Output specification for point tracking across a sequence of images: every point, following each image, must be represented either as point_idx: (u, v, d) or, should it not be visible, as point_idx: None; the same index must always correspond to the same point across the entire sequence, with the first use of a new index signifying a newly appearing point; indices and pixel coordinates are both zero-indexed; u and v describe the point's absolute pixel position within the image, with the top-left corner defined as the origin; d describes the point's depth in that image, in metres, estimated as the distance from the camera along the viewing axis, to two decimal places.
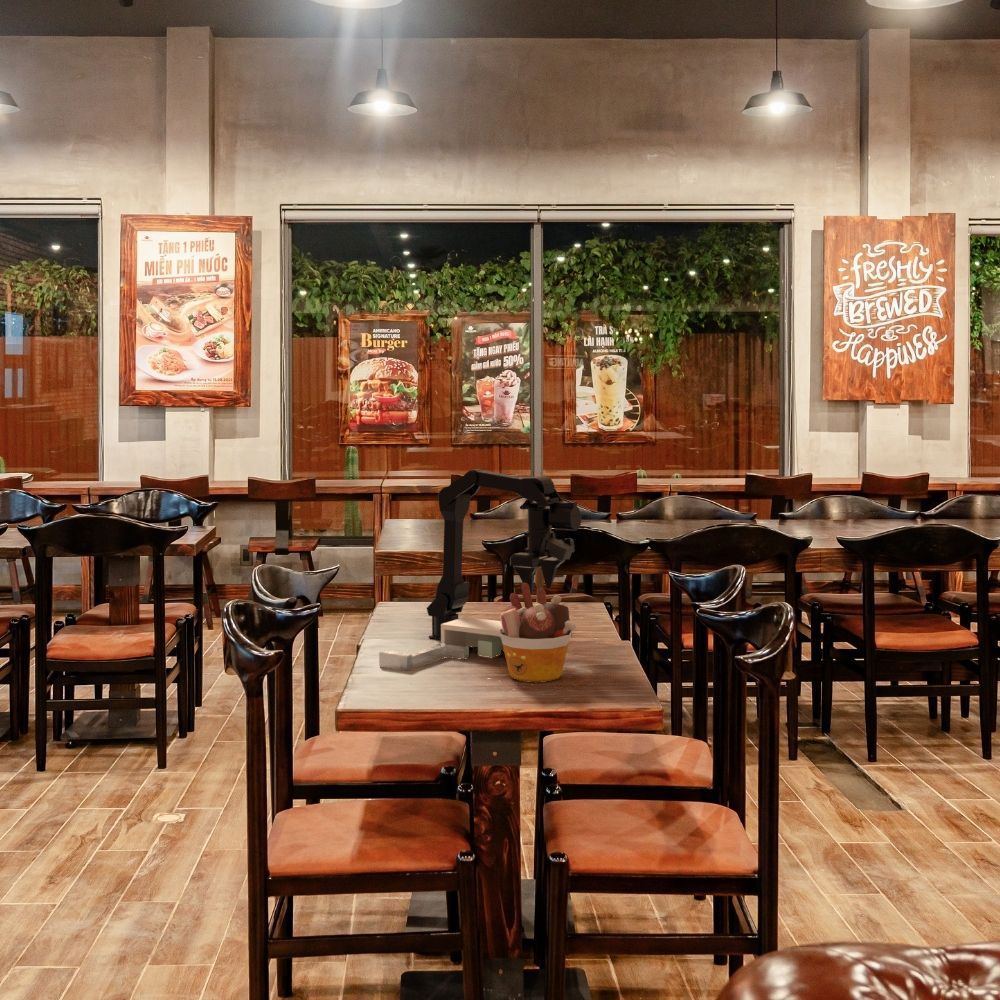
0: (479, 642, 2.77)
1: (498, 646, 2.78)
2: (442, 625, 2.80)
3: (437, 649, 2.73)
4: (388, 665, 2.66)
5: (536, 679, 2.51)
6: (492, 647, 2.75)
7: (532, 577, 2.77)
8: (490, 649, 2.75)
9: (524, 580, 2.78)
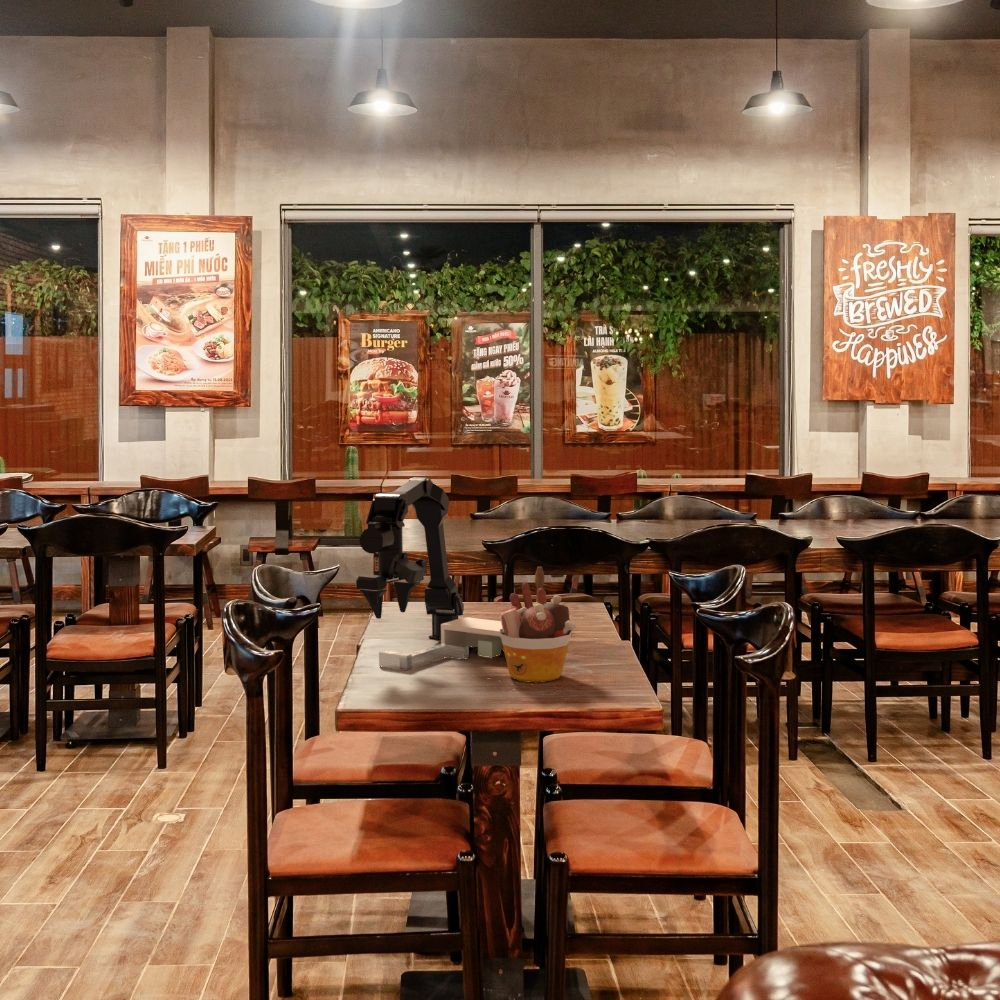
0: (479, 642, 2.77)
1: (498, 646, 2.78)
2: (442, 625, 2.80)
3: (437, 649, 2.73)
4: (387, 665, 2.66)
5: (536, 679, 2.51)
6: (492, 647, 2.75)
7: (380, 601, 2.60)
8: (490, 649, 2.75)
9: (372, 604, 2.61)
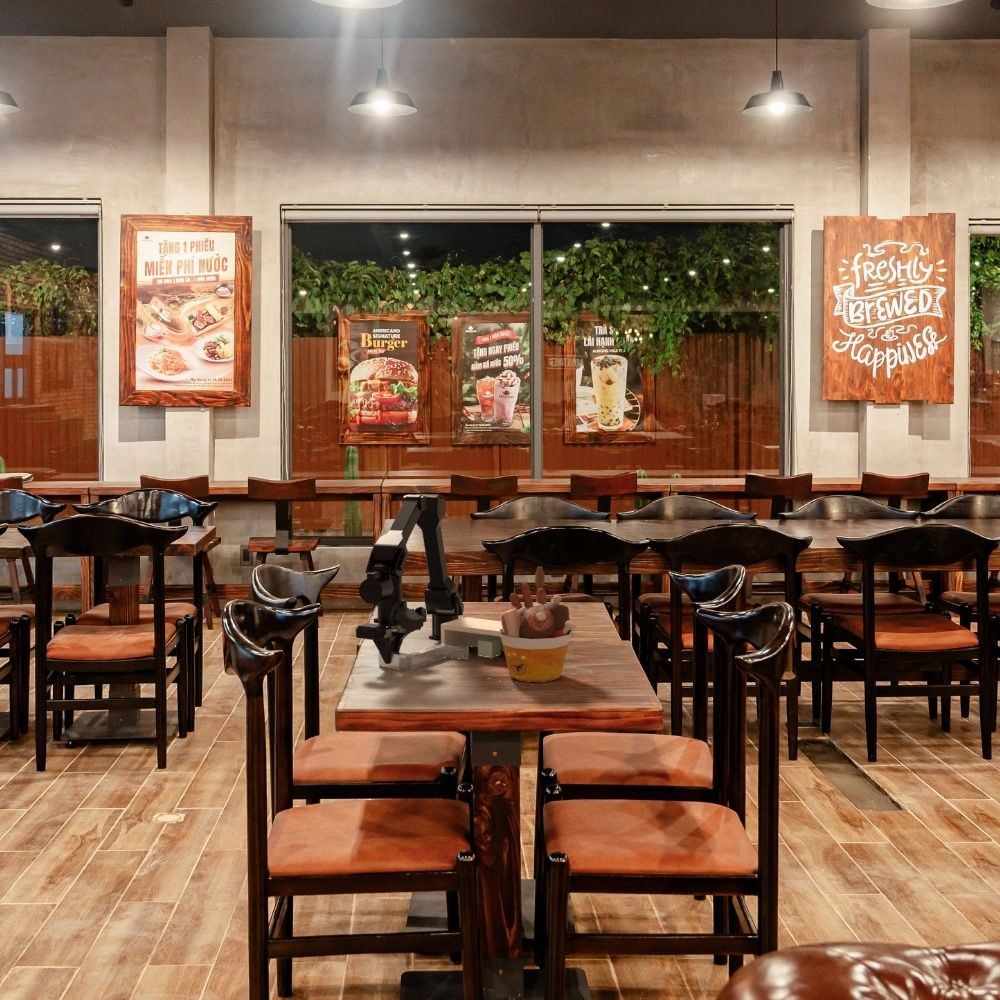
0: (479, 642, 2.77)
1: (498, 646, 2.78)
2: (442, 625, 2.80)
3: (437, 649, 2.73)
4: (387, 665, 2.66)
5: (536, 679, 2.51)
6: (492, 647, 2.75)
7: (388, 647, 2.64)
8: (490, 649, 2.75)
9: (380, 650, 2.65)
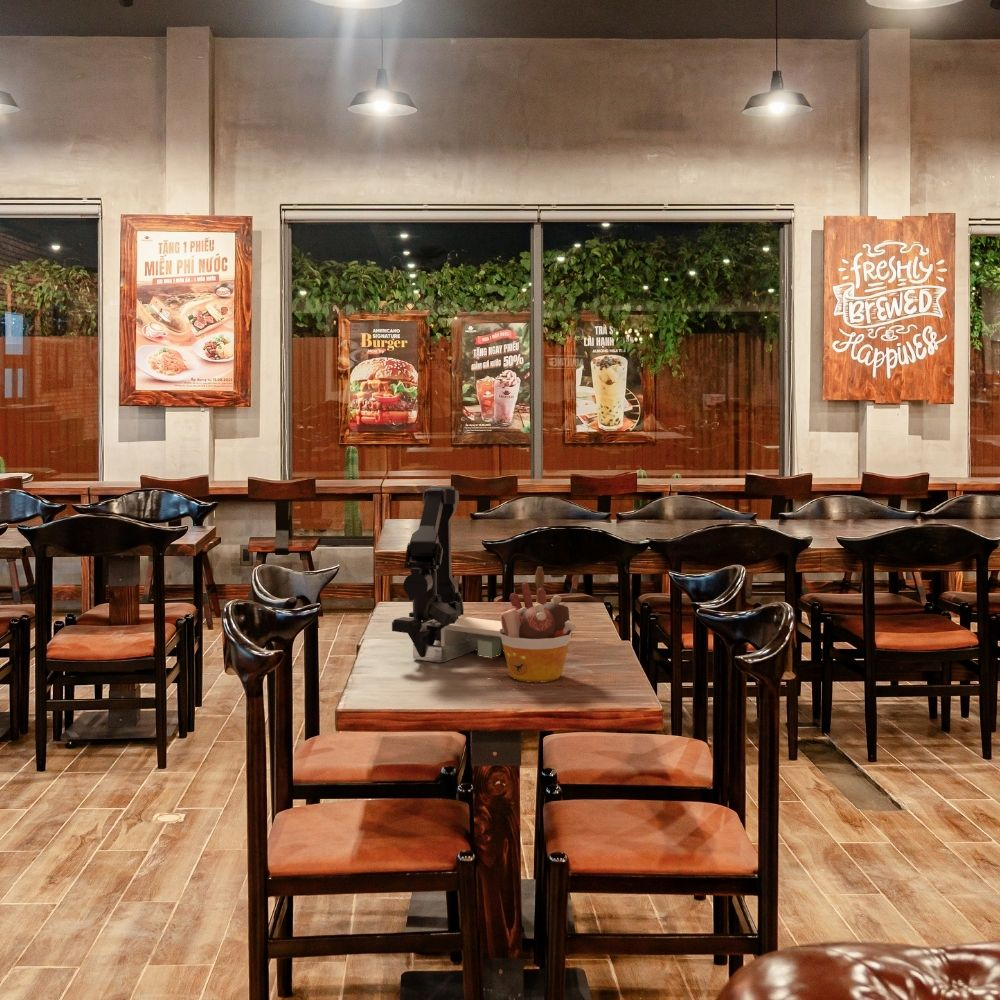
0: (479, 642, 2.77)
1: (498, 646, 2.78)
2: None
3: (468, 642, 2.80)
4: (422, 657, 2.73)
5: (536, 679, 2.51)
6: (492, 647, 2.75)
7: (423, 640, 2.70)
8: (490, 649, 2.75)
9: (416, 643, 2.71)
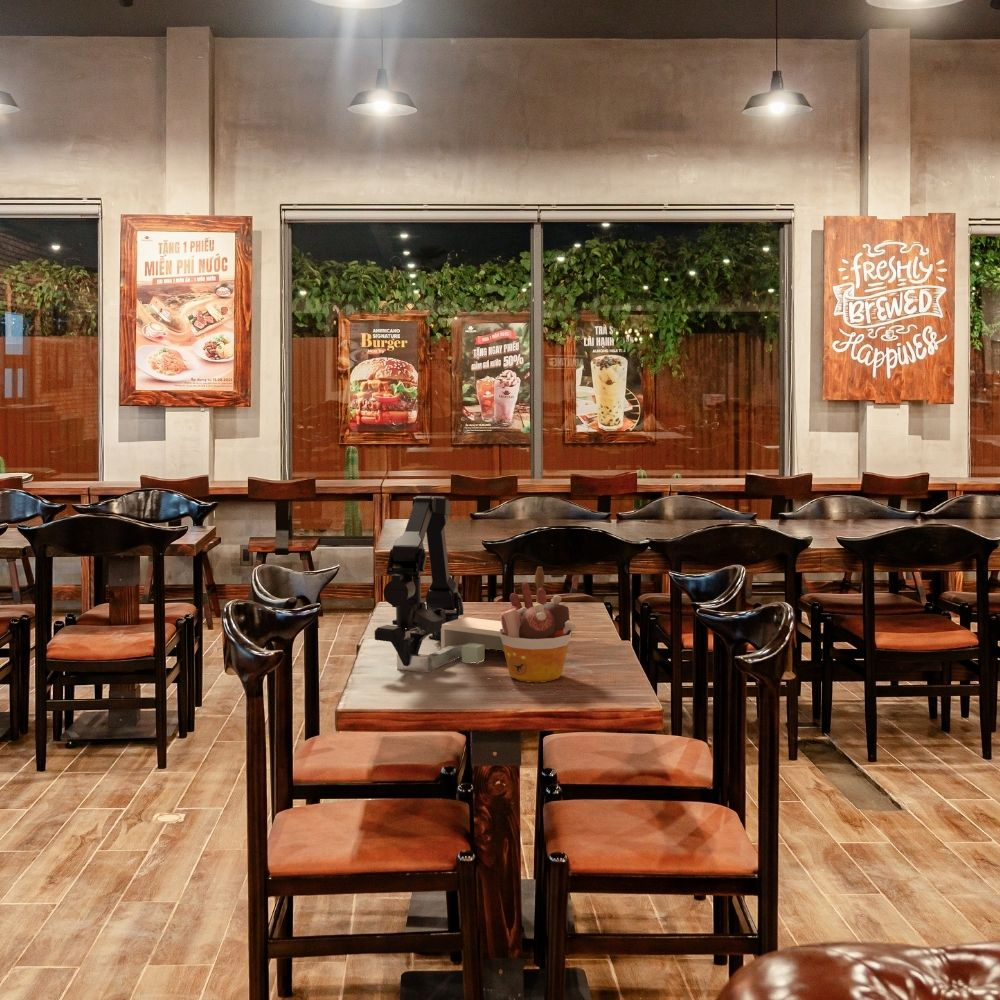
0: (463, 648, 2.71)
1: (482, 651, 2.72)
2: (442, 625, 2.80)
3: (451, 649, 2.72)
4: (406, 667, 2.64)
5: (536, 679, 2.51)
6: (477, 653, 2.70)
7: (407, 649, 2.61)
8: (475, 655, 2.70)
9: (399, 652, 2.62)
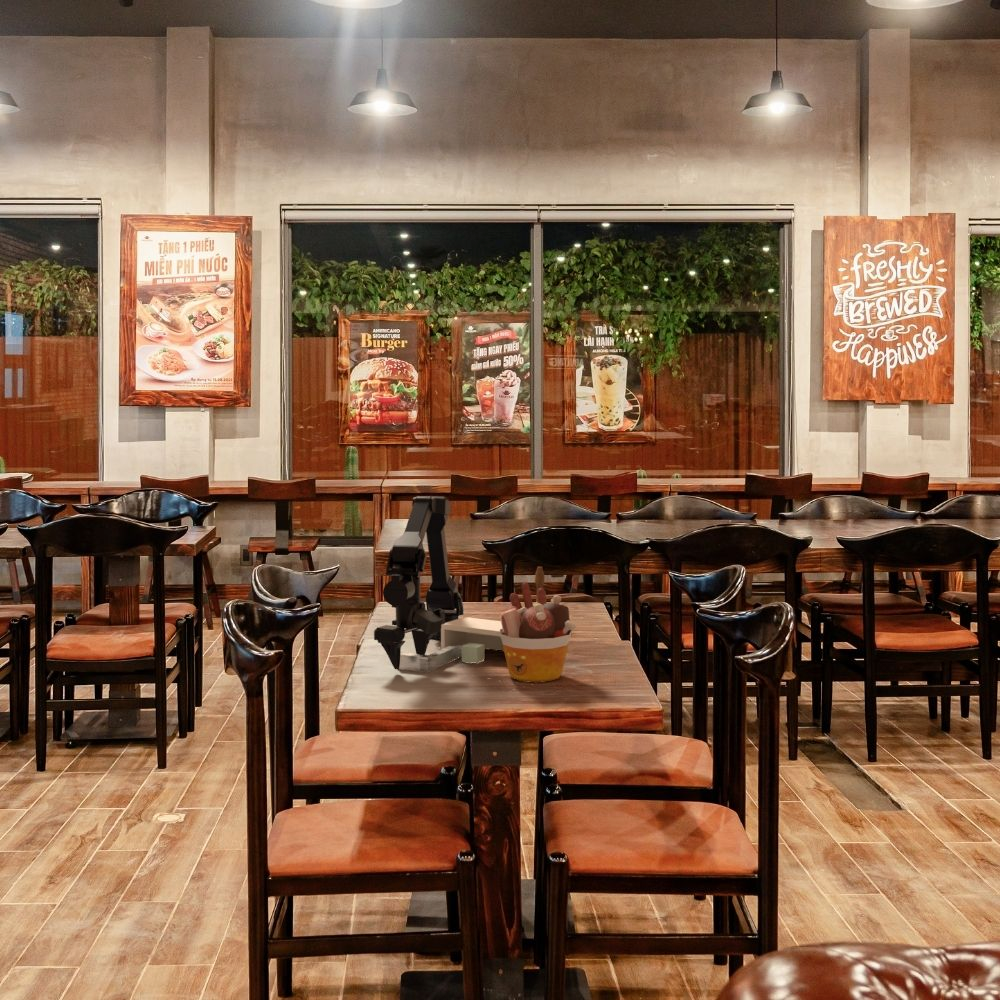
0: (463, 648, 2.71)
1: (482, 651, 2.72)
2: (442, 625, 2.80)
3: (451, 650, 2.72)
4: (406, 667, 2.64)
5: (536, 679, 2.51)
6: (477, 653, 2.70)
7: (398, 652, 2.58)
8: (475, 655, 2.70)
9: (390, 655, 2.60)
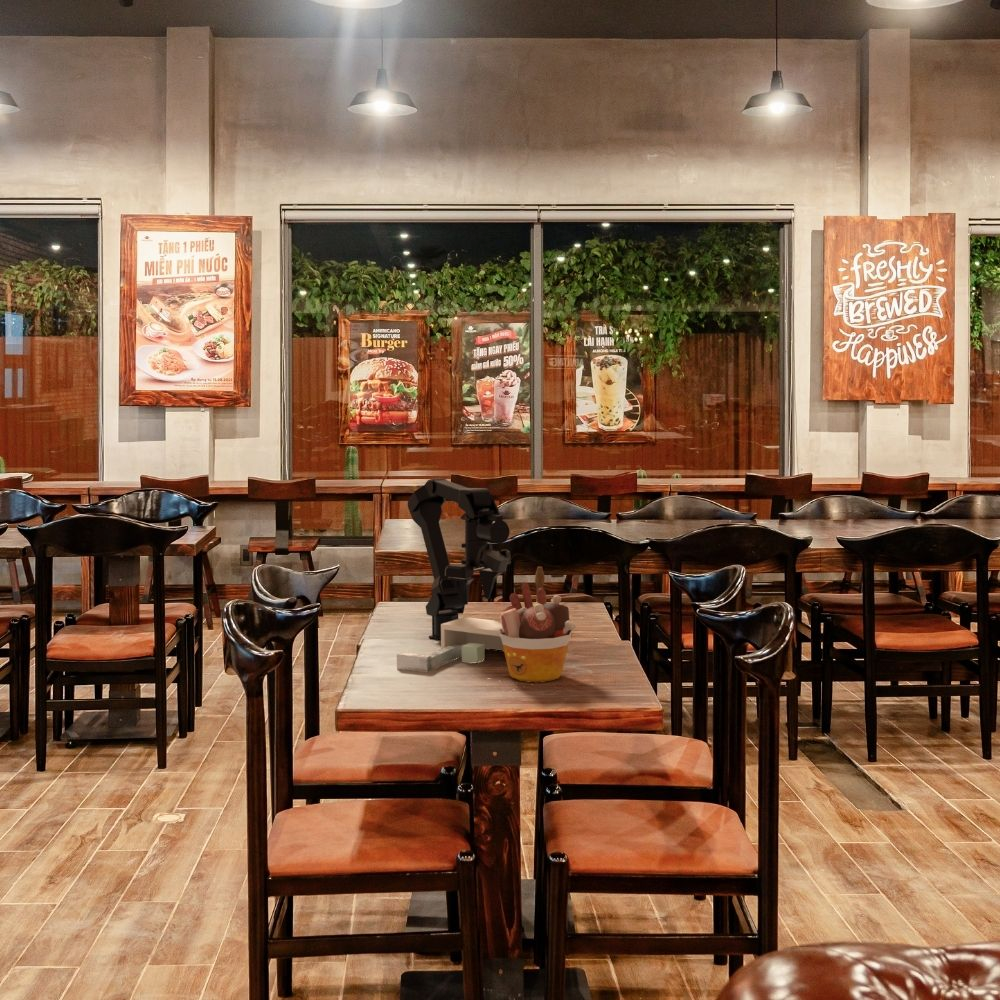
0: (463, 648, 2.71)
1: (482, 651, 2.72)
2: (442, 625, 2.80)
3: (451, 650, 2.72)
4: (406, 667, 2.64)
5: (536, 679, 2.51)
6: (477, 653, 2.70)
7: (467, 588, 2.80)
8: (475, 655, 2.70)
9: (459, 591, 2.81)
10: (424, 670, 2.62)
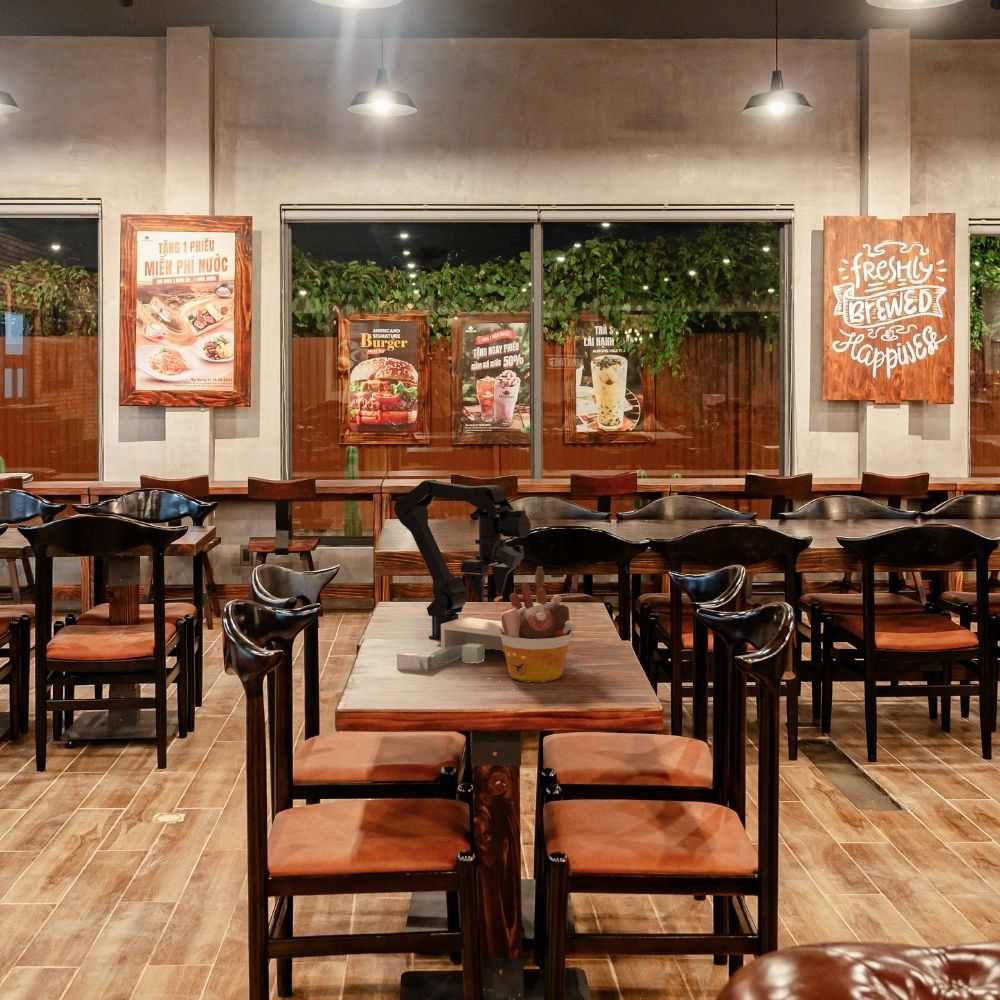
0: (463, 648, 2.71)
1: (482, 651, 2.72)
2: (442, 625, 2.80)
3: (451, 649, 2.72)
4: (406, 667, 2.64)
5: (536, 679, 2.51)
6: (477, 653, 2.70)
7: (482, 583, 2.85)
8: (475, 655, 2.70)
9: (475, 586, 2.86)
10: (424, 670, 2.62)
